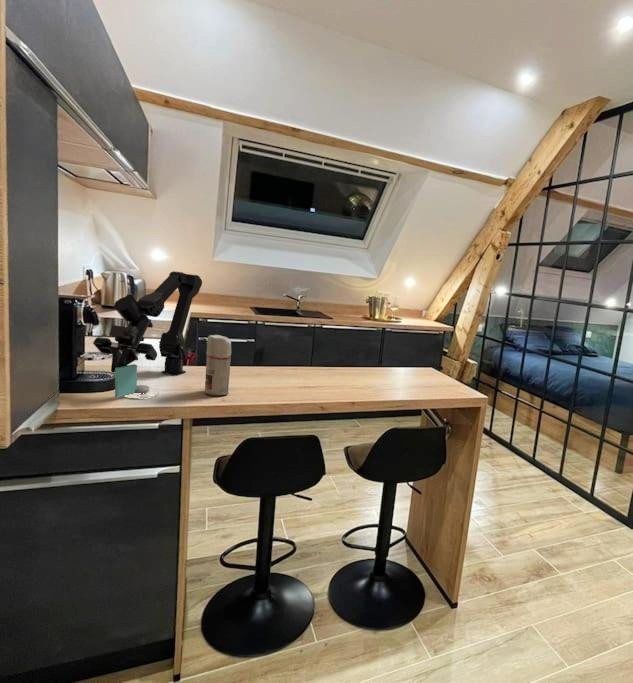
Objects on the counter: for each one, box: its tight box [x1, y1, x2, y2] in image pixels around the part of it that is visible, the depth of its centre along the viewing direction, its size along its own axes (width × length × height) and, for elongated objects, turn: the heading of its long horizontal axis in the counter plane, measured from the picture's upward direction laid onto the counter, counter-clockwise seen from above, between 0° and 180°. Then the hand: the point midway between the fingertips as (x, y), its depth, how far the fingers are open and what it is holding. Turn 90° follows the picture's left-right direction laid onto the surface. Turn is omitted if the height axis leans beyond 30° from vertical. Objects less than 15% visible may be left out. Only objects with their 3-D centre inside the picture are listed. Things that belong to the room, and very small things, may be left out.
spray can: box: [203, 334, 232, 397], centre depth 135 cm, size 8×8×20 cm
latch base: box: [137, 386, 160, 398], centre depth 129 cm, size 11×11×1 cm
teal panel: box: [114, 363, 149, 398], centre depth 125 cm, size 11×5×9 cm, turn 151°
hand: (113, 372), depth 121 cm, fingers closed
